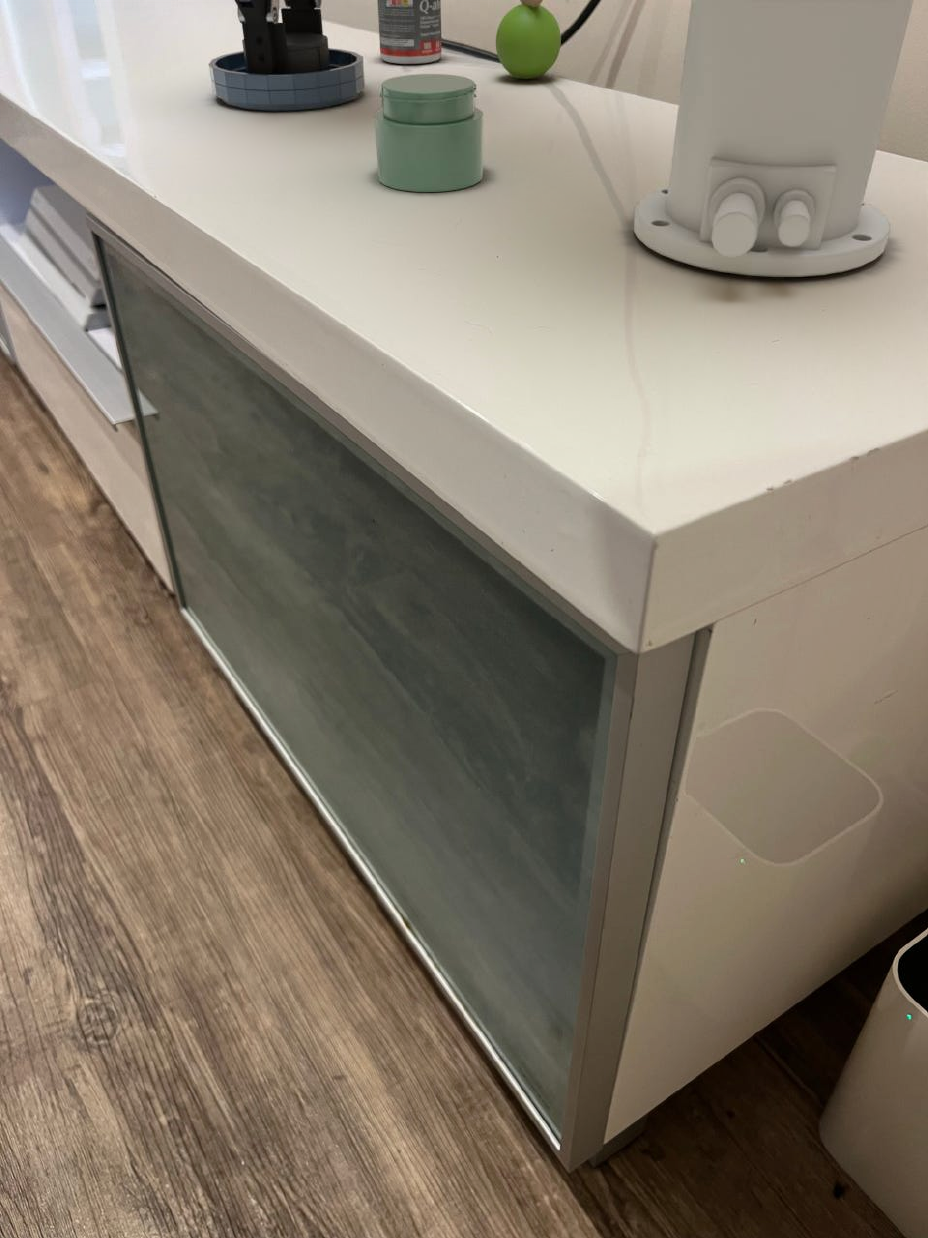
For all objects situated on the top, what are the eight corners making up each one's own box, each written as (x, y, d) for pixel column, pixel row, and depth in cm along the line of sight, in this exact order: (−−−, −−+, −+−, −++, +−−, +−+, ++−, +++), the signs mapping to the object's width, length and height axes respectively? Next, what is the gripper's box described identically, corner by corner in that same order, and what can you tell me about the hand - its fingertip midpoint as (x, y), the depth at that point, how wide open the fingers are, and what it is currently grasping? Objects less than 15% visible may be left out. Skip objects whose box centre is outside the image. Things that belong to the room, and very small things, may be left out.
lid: (347, 62, 75) (345, 35, 74) (294, 76, 71) (291, 48, 70) (283, 55, 78) (280, 29, 77) (228, 68, 74) (224, 41, 73)
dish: (334, 115, 70) (331, 77, 69) (188, 108, 73) (181, 71, 71) (384, 83, 79) (382, 49, 78) (252, 77, 82) (248, 44, 80)
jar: (468, 195, 55) (468, 96, 52) (364, 188, 56) (357, 91, 53) (493, 165, 60) (494, 74, 56) (396, 160, 61) (391, 69, 58)
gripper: (256, -221, 71) (287, 54, 82) (140, -233, 58) (196, 95, 69) (351, -224, 69) (369, 56, 81) (252, -237, 56) (291, 99, 68)
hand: (289, 72), depth 75 cm, fingers closed on lid, 6 cm apart
